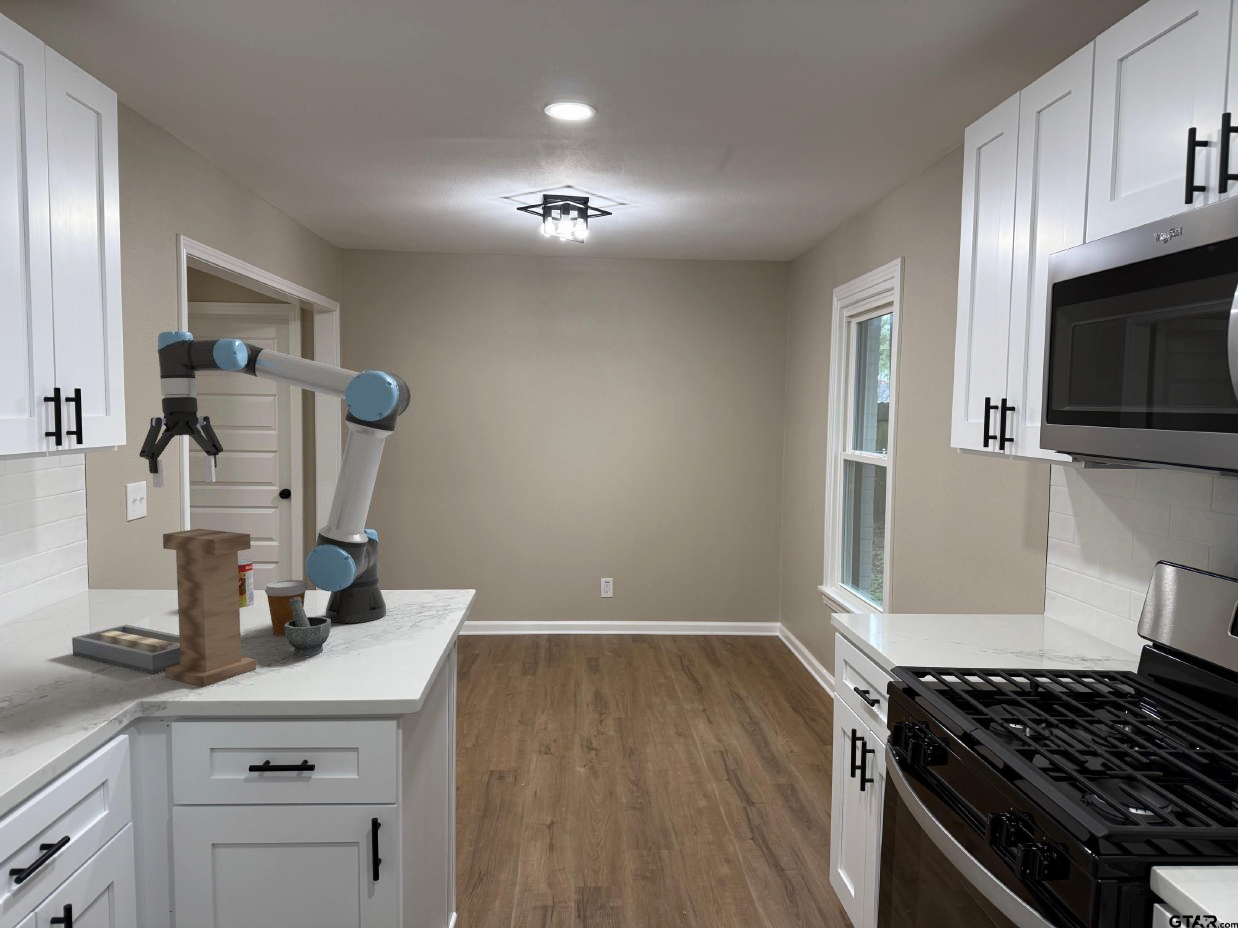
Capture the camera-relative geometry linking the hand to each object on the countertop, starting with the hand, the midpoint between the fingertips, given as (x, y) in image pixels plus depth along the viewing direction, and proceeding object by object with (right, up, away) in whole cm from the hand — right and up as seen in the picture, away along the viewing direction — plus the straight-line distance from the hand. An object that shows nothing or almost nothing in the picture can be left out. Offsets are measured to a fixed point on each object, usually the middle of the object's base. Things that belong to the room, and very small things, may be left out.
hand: (185, 484), depth 196 cm
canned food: (-1, -34, +28) cm, 44 cm away
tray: (0, -37, -18) cm, 42 cm away
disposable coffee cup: (+24, -36, +1) cm, 44 cm away
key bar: (0, -36, -18) cm, 41 cm away
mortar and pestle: (+35, -37, -15) cm, 53 cm away
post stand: (+21, -38, -29) cm, 53 cm away
